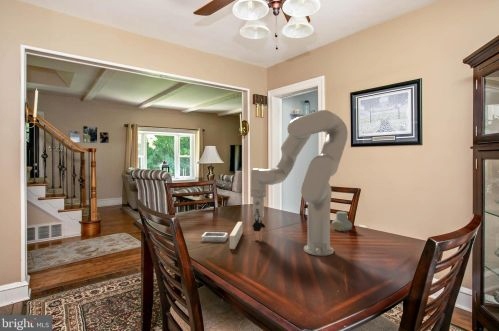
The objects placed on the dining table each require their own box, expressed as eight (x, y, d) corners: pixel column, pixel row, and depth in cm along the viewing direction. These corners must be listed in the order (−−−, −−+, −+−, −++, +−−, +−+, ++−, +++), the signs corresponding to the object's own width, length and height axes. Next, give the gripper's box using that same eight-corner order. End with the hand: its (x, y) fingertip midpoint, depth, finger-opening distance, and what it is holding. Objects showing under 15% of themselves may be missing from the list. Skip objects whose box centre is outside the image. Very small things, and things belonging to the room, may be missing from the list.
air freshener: (329, 229, 154) (329, 211, 154) (336, 226, 160) (337, 210, 159) (347, 233, 146) (347, 215, 146) (354, 230, 151) (354, 212, 151)
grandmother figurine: (250, 241, 132) (250, 215, 132) (251, 239, 136) (251, 214, 136) (266, 242, 131) (266, 216, 131) (266, 239, 135) (266, 214, 134)
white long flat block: (234, 249, 122) (234, 235, 121) (229, 248, 122) (229, 235, 122) (242, 232, 148) (242, 221, 147) (238, 232, 148) (238, 221, 148)
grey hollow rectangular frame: (224, 242, 131) (224, 237, 131) (201, 241, 133) (201, 236, 133) (227, 237, 139) (227, 232, 139) (205, 236, 140) (205, 232, 140)
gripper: (265, 196, 124) (264, 233, 125) (266, 191, 141) (266, 223, 142) (248, 196, 125) (248, 232, 125) (252, 190, 142) (251, 223, 143)
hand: (257, 228), depth 134 cm, fingers open, 9 cm apart
